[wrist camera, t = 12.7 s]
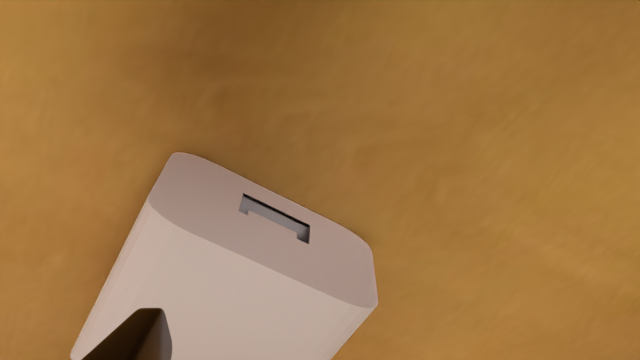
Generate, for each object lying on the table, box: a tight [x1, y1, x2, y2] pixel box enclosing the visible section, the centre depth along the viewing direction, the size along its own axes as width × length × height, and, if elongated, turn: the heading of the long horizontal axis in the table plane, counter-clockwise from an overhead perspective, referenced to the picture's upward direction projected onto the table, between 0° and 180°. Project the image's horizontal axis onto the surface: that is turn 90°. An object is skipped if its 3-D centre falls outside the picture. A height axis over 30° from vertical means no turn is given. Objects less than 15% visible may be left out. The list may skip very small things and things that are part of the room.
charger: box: [70, 152, 378, 360], centre depth 23 cm, size 5×9×15 cm
